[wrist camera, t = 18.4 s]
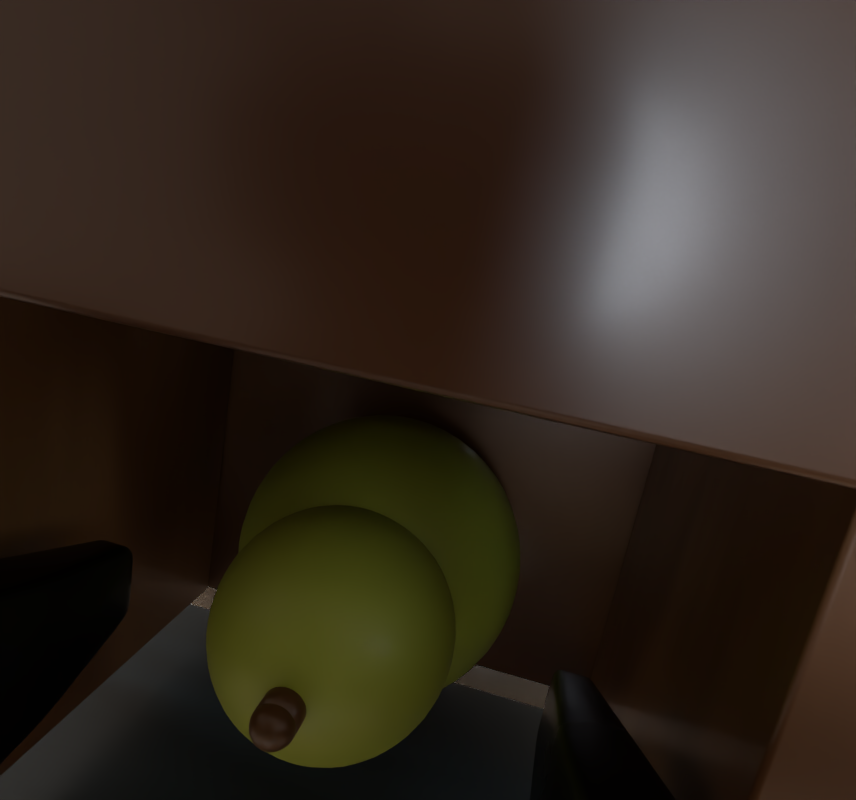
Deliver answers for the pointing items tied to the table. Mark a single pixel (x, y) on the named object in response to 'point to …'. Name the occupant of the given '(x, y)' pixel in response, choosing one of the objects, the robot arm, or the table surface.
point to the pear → (360, 589)
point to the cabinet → (462, 200)
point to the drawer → (525, 626)
